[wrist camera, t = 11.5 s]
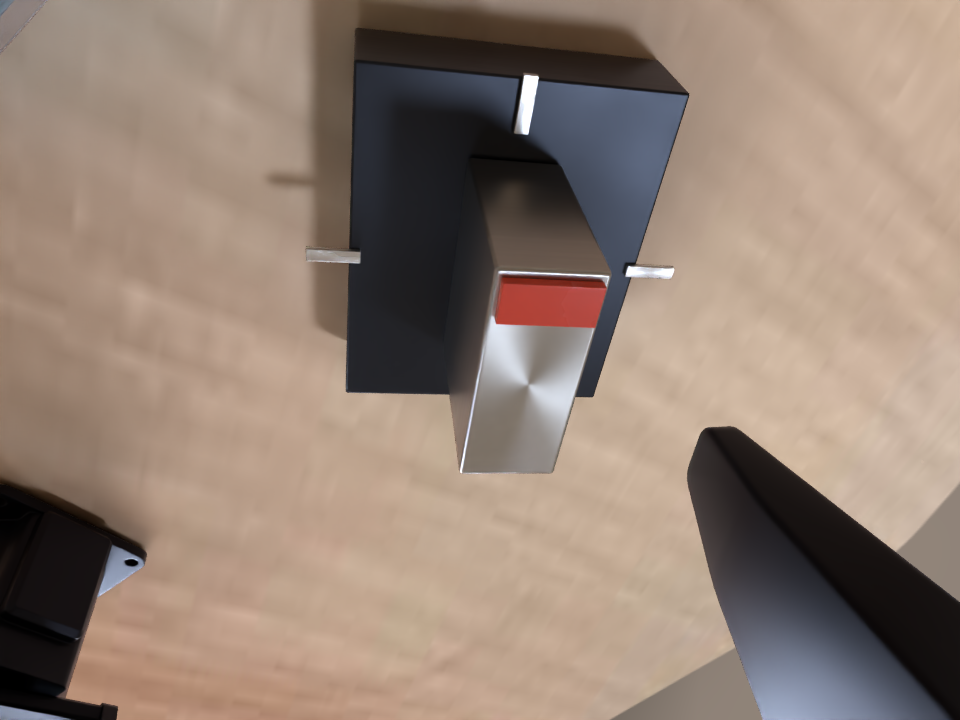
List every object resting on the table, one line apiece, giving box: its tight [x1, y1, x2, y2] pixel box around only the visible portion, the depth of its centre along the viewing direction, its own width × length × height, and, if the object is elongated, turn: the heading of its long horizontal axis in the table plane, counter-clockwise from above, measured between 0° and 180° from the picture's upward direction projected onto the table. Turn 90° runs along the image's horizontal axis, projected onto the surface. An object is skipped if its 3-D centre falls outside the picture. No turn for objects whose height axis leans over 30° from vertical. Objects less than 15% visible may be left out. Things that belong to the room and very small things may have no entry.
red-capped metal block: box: [443, 158, 612, 474], centre depth 18 cm, size 6×2×5 cm, turn 172°
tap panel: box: [306, 28, 689, 397], centre depth 21 cm, size 10×10×3 cm
